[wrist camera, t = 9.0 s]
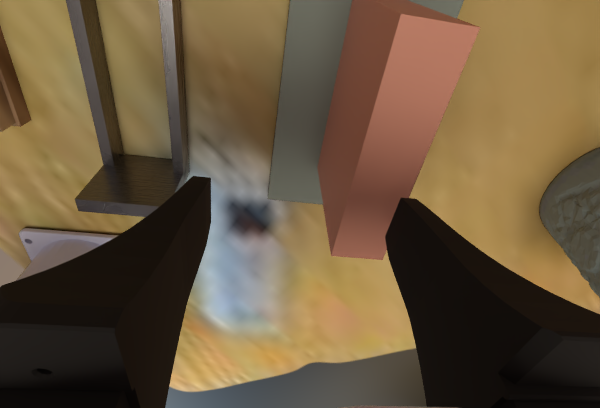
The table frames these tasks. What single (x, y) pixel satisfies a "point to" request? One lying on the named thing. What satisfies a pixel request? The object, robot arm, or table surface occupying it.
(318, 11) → the mat
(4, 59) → the offcut stack
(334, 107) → the salmon pink rectangular block
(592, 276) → the grey cylindrical pot
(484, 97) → the table surface
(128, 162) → the rack
